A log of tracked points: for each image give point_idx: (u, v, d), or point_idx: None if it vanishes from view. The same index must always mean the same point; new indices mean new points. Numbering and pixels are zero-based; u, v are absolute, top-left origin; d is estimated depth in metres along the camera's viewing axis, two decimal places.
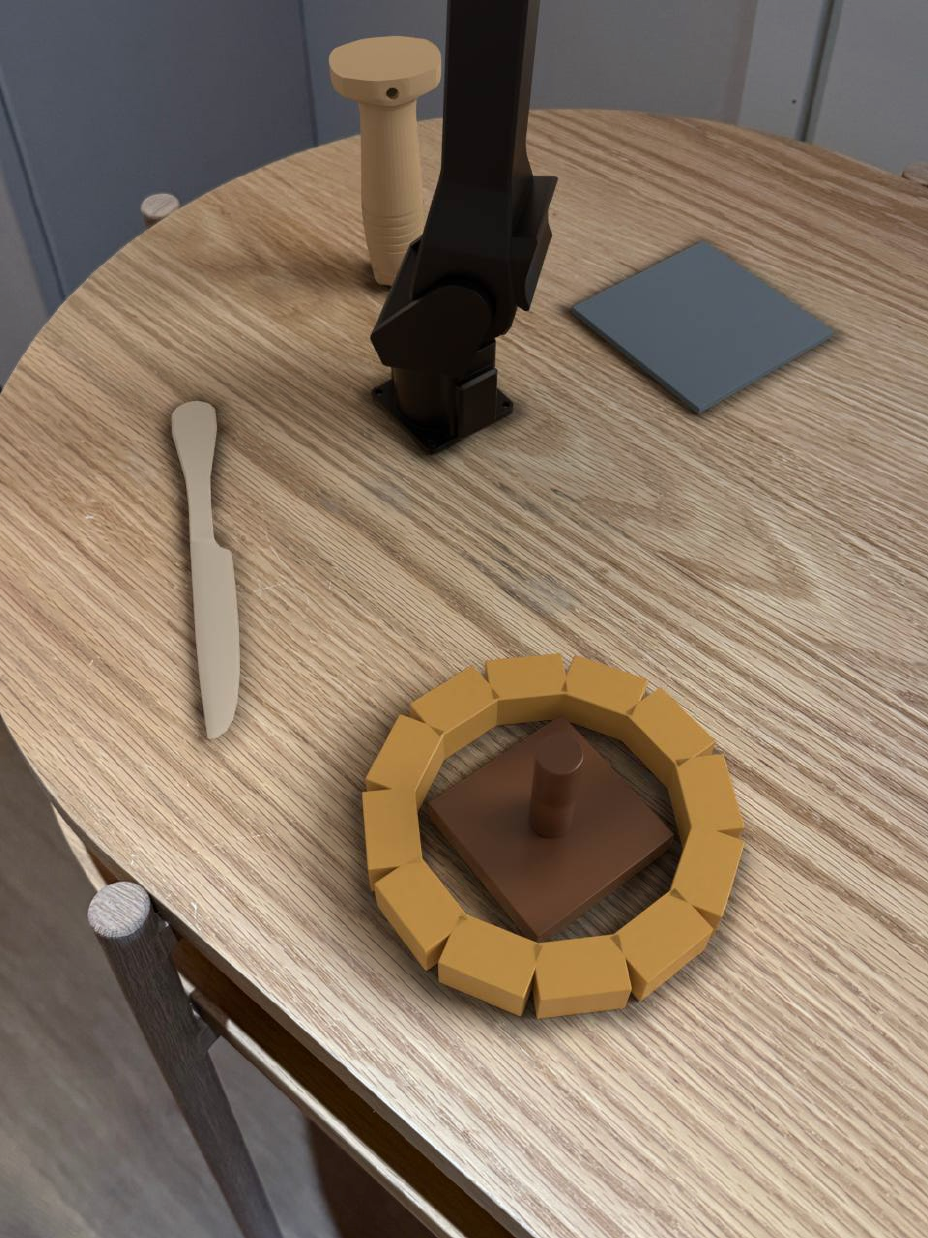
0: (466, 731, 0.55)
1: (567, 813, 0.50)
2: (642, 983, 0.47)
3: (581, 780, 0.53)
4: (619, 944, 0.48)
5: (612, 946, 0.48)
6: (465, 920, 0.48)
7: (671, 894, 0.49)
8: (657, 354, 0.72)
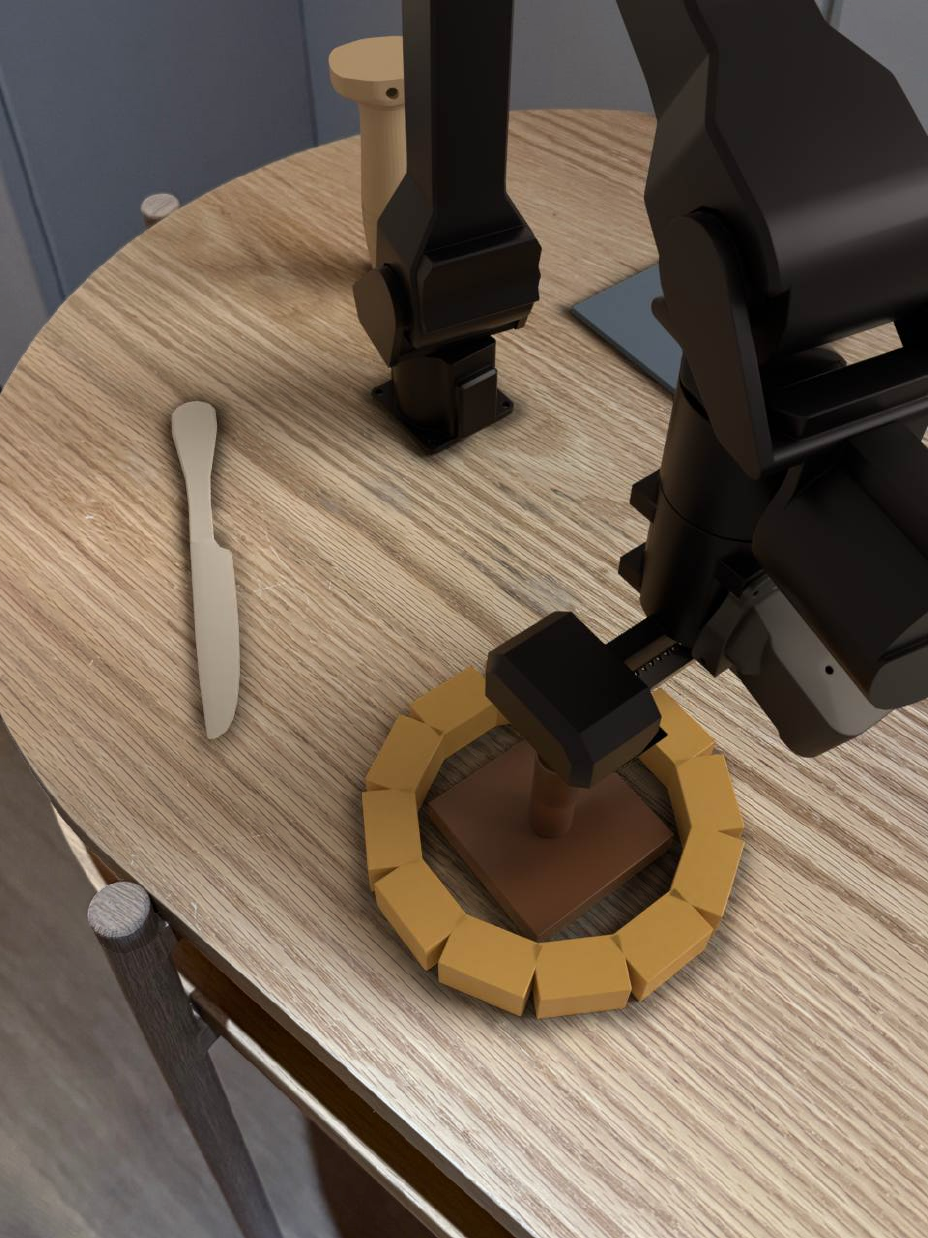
0: (466, 731, 0.55)
1: (567, 813, 0.50)
2: (642, 983, 0.47)
3: None
4: (619, 944, 0.48)
5: (612, 946, 0.48)
6: (465, 920, 0.48)
7: (671, 894, 0.49)
8: (657, 354, 0.72)
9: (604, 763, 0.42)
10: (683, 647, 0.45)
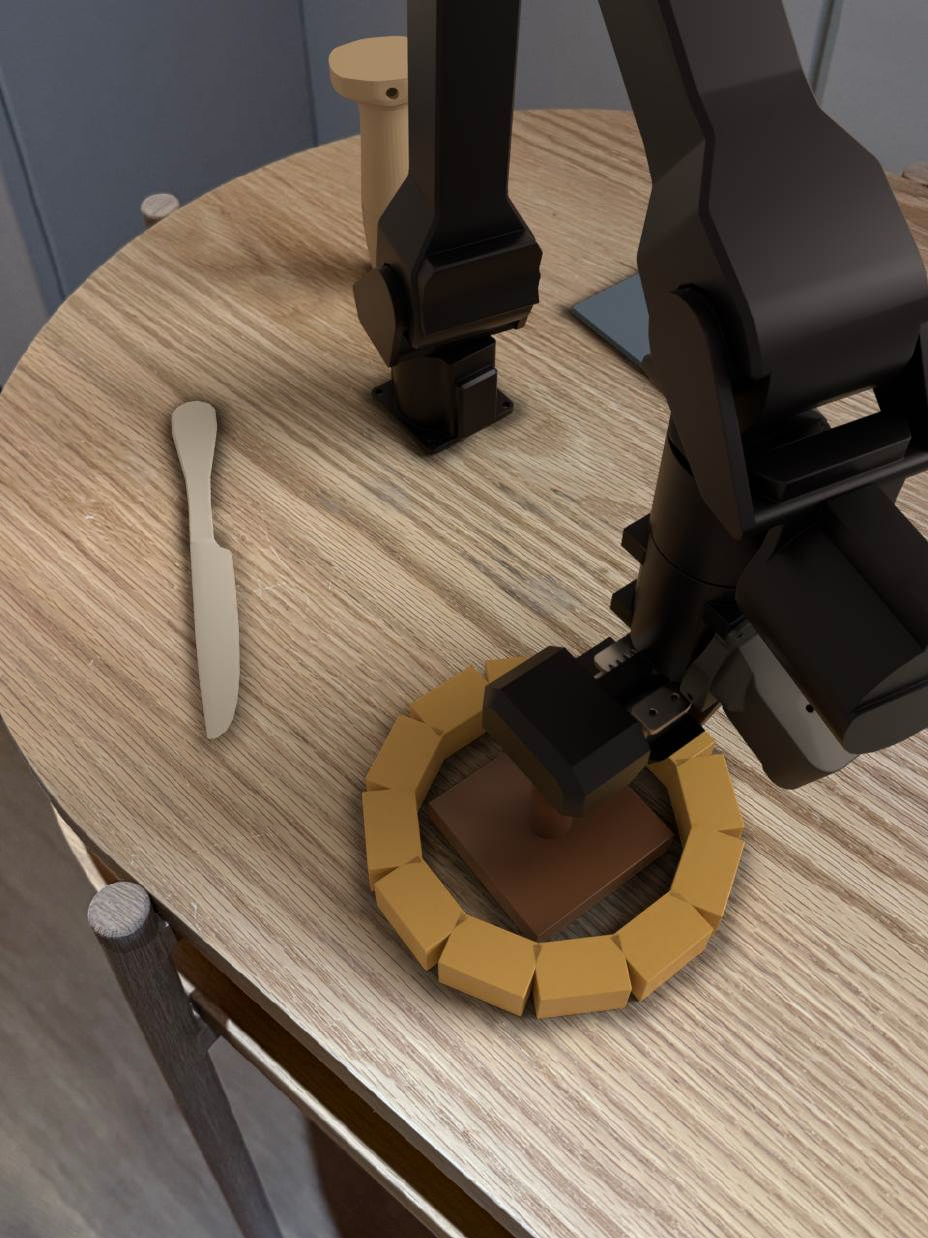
0: (466, 731, 0.55)
1: None
2: (642, 983, 0.47)
3: None
4: (619, 944, 0.48)
5: (612, 946, 0.48)
6: (465, 920, 0.48)
7: (672, 894, 0.49)
8: None
9: (595, 794, 0.44)
10: None
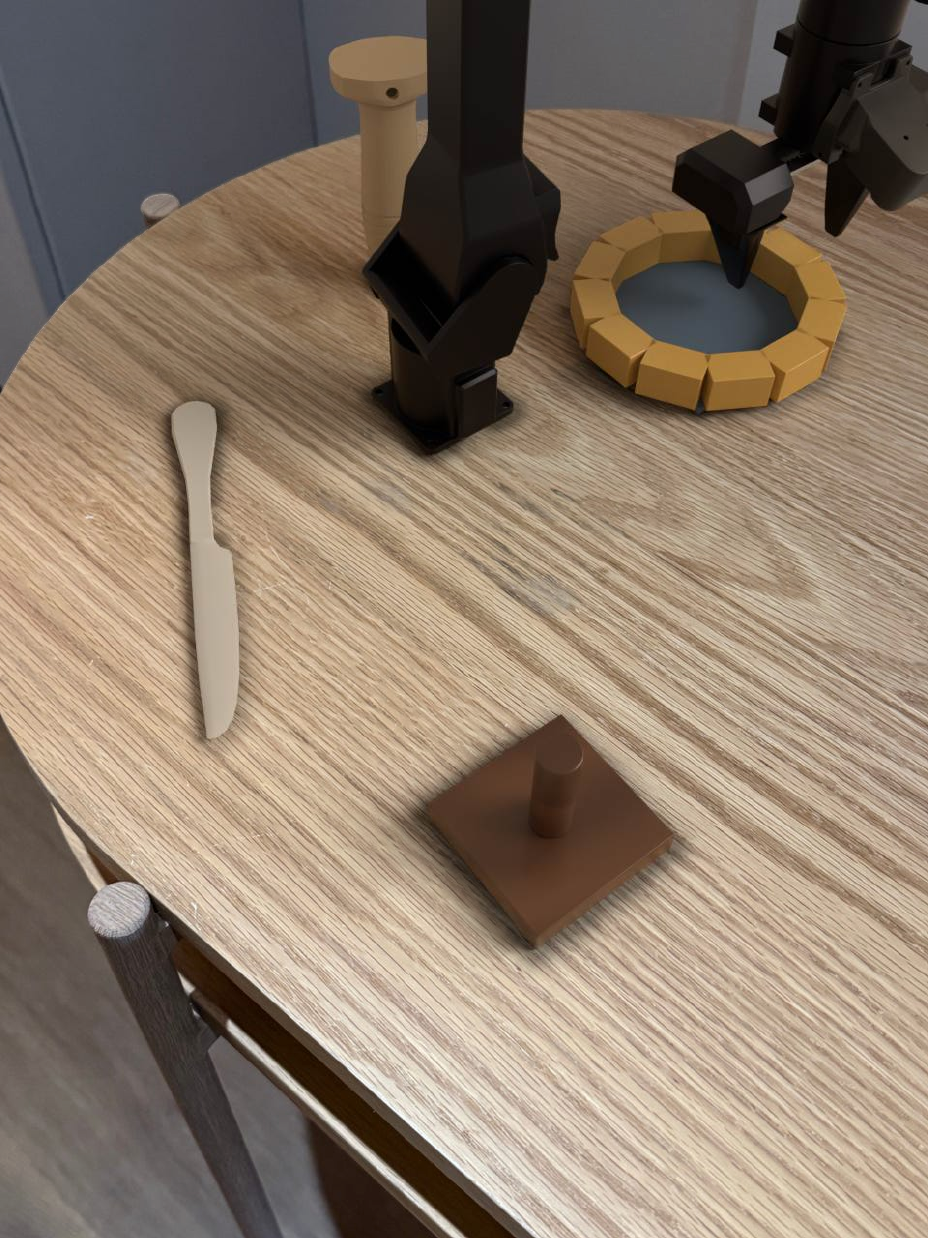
0: (639, 257, 0.76)
1: (567, 813, 0.50)
2: (781, 376, 0.68)
3: (581, 780, 0.53)
4: (764, 354, 0.69)
5: (759, 355, 0.69)
6: (656, 342, 0.69)
7: (798, 330, 0.70)
8: None
9: (758, 210, 0.64)
10: (797, 160, 0.67)
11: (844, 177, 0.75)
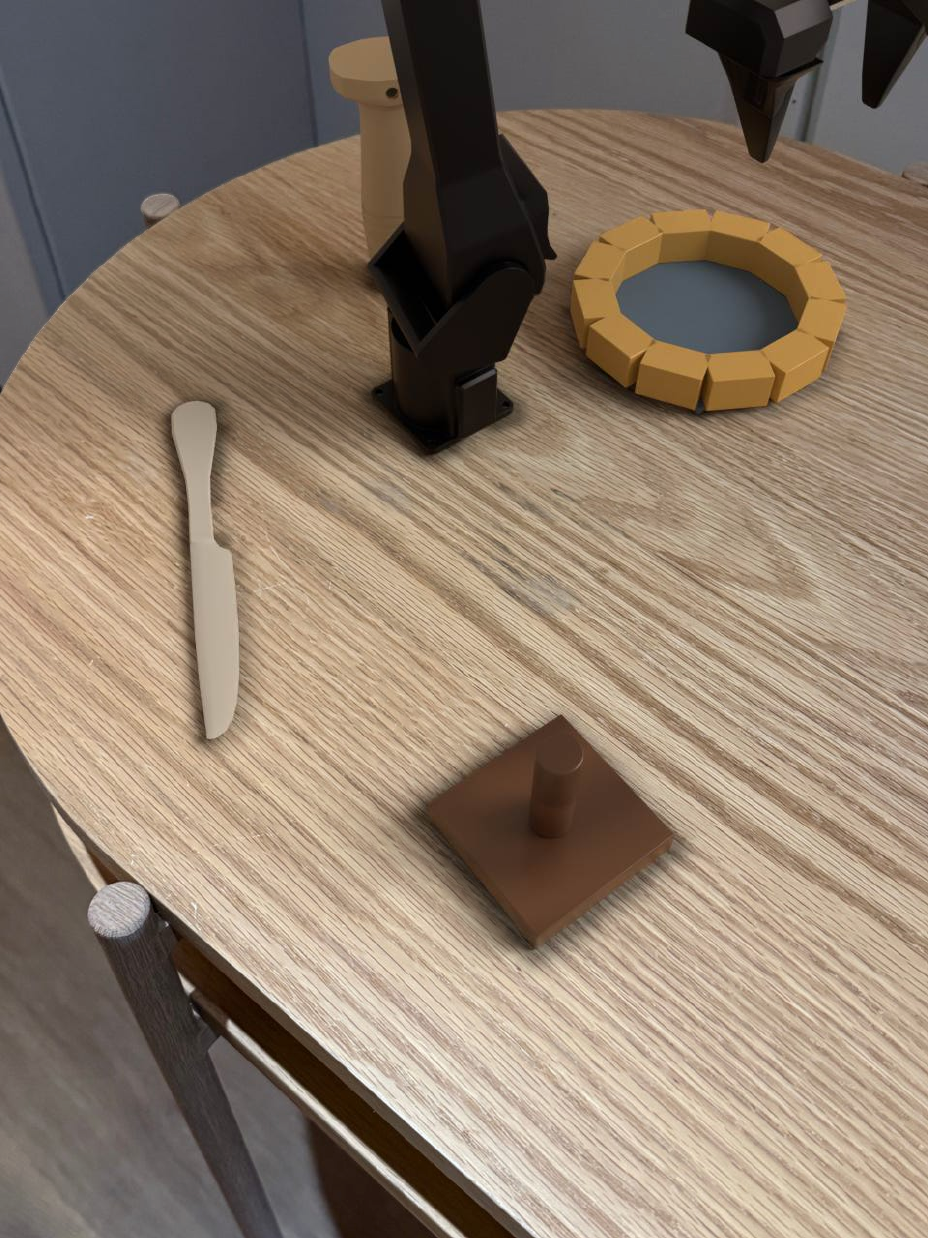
0: (639, 257, 0.76)
1: (567, 813, 0.50)
2: (781, 376, 0.68)
3: (581, 780, 0.53)
4: (764, 354, 0.69)
5: (759, 355, 0.69)
6: (656, 342, 0.69)
7: (798, 330, 0.70)
8: None
9: (790, 46, 0.53)
10: None
11: (886, 33, 0.64)
